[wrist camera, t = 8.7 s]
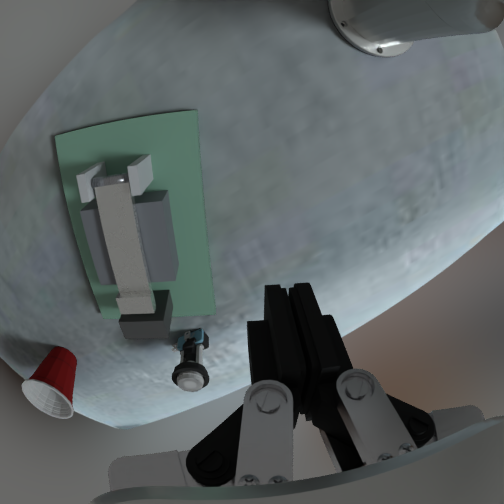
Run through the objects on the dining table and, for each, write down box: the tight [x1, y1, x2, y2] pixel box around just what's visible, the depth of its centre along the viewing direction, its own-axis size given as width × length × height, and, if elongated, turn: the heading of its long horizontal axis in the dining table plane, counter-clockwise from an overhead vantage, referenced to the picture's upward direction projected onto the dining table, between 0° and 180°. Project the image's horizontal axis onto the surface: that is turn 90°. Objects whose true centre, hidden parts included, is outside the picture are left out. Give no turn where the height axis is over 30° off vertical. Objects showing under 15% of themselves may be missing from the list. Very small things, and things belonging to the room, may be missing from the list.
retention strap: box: [92, 173, 156, 314], centre depth 30 cm, size 17×4×2 cm, turn 1°
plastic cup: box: [22, 346, 77, 419], centre depth 41 cm, size 11×11×12 cm
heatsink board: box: [55, 110, 216, 339], centre depth 33 cm, size 28×18×8 cm, turn 2°
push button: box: [172, 329, 209, 392], centre depth 42 cm, size 7×5×10 cm
